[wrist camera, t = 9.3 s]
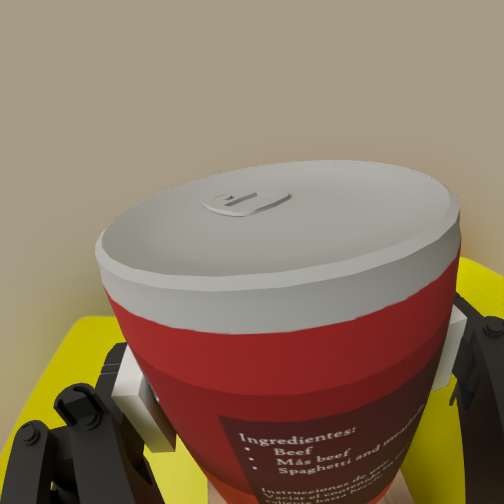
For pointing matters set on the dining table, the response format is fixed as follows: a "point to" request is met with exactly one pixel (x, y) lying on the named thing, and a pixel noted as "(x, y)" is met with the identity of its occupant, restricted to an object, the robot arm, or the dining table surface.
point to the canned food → (290, 320)
